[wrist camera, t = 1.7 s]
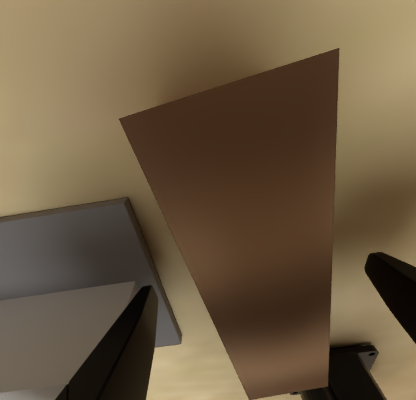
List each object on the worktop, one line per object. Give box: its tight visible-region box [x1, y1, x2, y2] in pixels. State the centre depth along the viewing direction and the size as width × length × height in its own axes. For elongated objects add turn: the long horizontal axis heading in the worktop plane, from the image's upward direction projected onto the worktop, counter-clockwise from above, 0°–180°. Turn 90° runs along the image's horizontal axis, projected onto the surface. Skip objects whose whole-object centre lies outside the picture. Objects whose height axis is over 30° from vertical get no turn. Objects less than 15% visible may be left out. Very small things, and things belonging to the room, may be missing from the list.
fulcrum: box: [0, 198, 182, 400], centre depth 9 cm, size 11×12×4 cm
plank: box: [119, 48, 339, 400], centre depth 8 cm, size 14×4×4 cm, turn 16°
